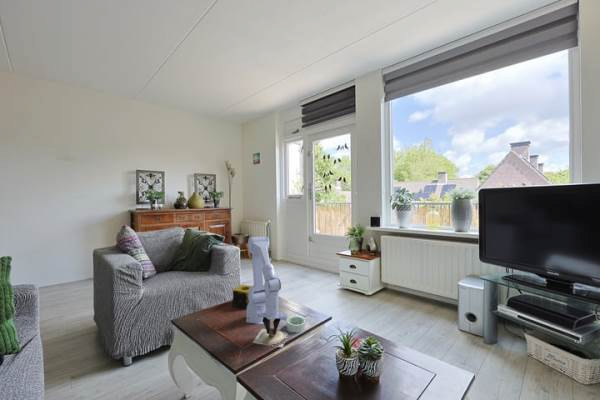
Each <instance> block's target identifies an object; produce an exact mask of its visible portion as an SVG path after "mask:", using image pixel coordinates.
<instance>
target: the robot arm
mask: <svg viewBox="0 0 600 400" xmlns="http://www.w3.org/2000/svg"><path fill="white" fill-rule="evenodd" d="M247 247H248V248H247V249H248V253H249V254H251V258H252V275H253V285H252V287H251V288H250V289H249V295H248V299H249V303H248V305H247V309H246V318H245V319H246V321H245V322H246V323H251V324H256V325H264V327H265V329H266V331H267V334H269V329H270V328H271V320H273V322H272V323H273V328H274V335H275V334H276V332H277V330H278V329H279V328H278V327H279V324H280V321H281V320H284V321H285V322H287V320H288V318H289V317H288V316H289V315H288V314H286V313H285V314H284V313H282V312H279V297H280V295H279V292H280V291H281V289H282V282H281V279H280V277H279V276H278V275H277V273H276V270H275V267H274V265H273V264H272V263H271V261H270V260H271V259H270V254H269V248H270V239H269V237H268V236H267V235H265V236H263V235H262V236H253V237H252V236H250V237H249V238H248V241H247ZM260 290H261V291H260Z"/></svg>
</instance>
